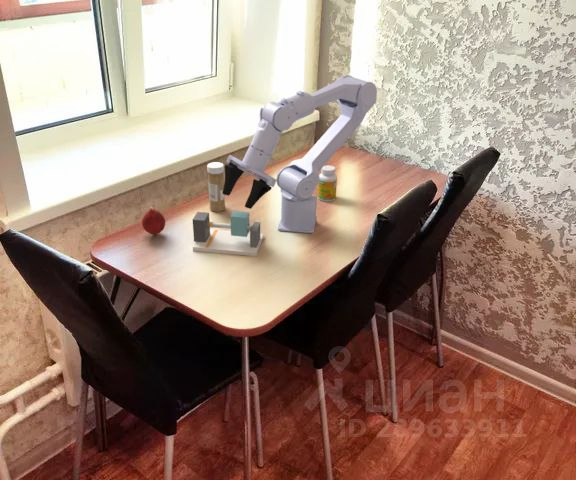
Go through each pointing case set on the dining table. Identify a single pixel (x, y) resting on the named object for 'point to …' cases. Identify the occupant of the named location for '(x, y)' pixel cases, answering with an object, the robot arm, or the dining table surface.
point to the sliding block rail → (224, 237)
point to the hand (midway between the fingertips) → (236, 201)
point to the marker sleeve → (239, 223)
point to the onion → (153, 221)
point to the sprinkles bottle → (216, 186)
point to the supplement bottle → (327, 184)
